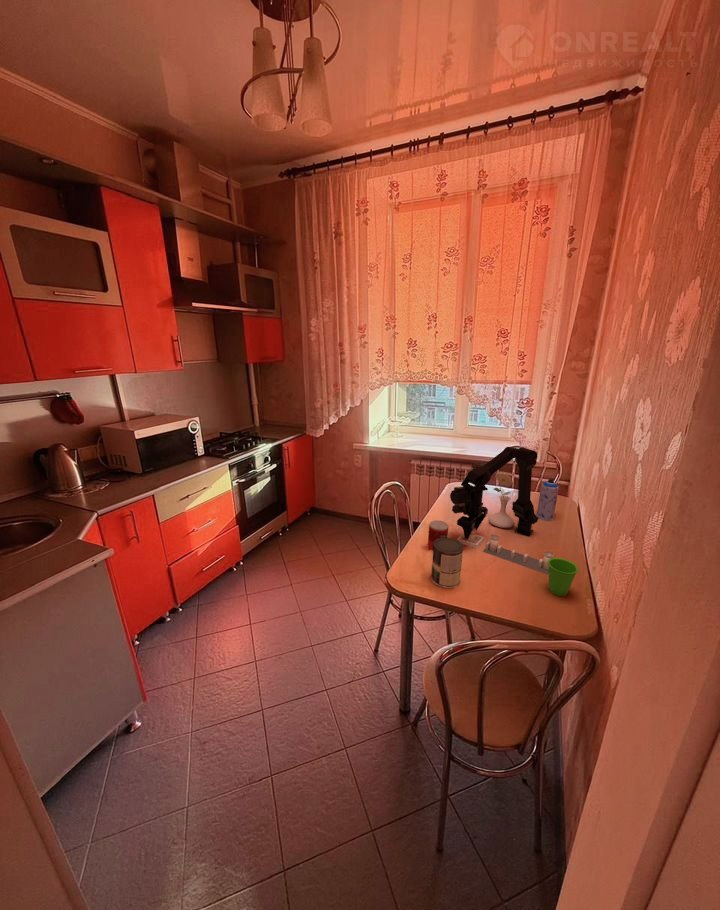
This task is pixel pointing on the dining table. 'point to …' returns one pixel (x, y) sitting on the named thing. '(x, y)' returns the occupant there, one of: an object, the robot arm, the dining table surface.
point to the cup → (561, 575)
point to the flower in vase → (502, 504)
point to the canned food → (436, 532)
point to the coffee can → (447, 562)
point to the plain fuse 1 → (494, 543)
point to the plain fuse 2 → (546, 557)
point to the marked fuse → (472, 536)
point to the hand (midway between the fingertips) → (471, 534)
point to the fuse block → (517, 558)
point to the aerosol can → (547, 500)
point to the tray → (470, 542)
